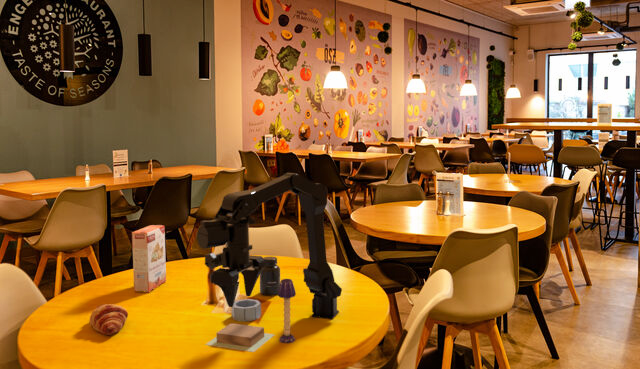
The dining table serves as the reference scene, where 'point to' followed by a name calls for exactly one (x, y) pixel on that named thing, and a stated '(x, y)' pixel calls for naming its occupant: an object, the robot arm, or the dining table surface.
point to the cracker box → (149, 257)
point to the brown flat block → (240, 335)
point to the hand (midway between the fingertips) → (239, 301)
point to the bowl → (246, 310)
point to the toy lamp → (286, 308)
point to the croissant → (108, 318)
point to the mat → (251, 349)
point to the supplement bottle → (270, 277)
